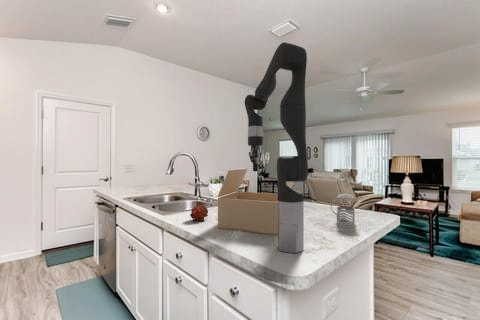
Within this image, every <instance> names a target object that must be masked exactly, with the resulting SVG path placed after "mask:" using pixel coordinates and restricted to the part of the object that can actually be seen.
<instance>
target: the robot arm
mask: <svg viewBox="0 0 480 320" xmlns="http://www.w3.org/2000/svg"><path fill="white" fill-rule="evenodd" d="M307 61H308V54H307V50H306V48H305V47H304V46H302V45H299V44H295V43H291V42H286V41H285V42H284V41H283V42H281V43H279V45H278V46H277V48H276V49H275V51H274V54H273V55H272V58H271V60H270V63H269V65H268V67H267V68H266V71H265V74H264V76H263V78H261V81H260V82H259V84H258V85H257V87H256V89H255V91H254V94H248V95H246V97H245V98H244V108H245V111H246V114H247V126H248V127H247V145H248V146H249V147H250V151H249V152H248V156H249V161H250V162H251V163H252V172H259V163H260V162H261V159H262V155H263V154H262V151H261V146H264V128H263V121H264V119H263V116H262V115H261V114H259V113H257V112H256V111H262V110H264V109H265V108H266V107H267V103H268V100H269V97H271V95H272V94H273V93H274V91H275V90H276V87H277V73H278V71H280V70H285V71H290V72H291V83H290V86H289V87H288V89H287V90H286V92H285V93H284V95H283V97H282V99H281V101H280V105H279V106H280V107H279V112H280V113H279V115H280V116H279V117H280V118H279V119H280V123H281V125H282V127H283V129H284V130H285V132H286V133H287V134H288V135H289V137H290V139H291V140H292V142H293V144H294V147H295V150H296V154H297V155H279V156H278V158H277V160H276V178H277V179H276V180H277V194H278V208H277V210H278V235H277V249H278V251H279V252H284V253H291V254H298V253H301V252H303V251H304V248H305V247H304V241H305V239H304V236H305V235H304V231H305V229H304V226H305V224H304V223H305V221H304V218H305V217H304V216H305V214H304V207H305V206H304V204H305V203H304V199H305V198H304V197H305V196H304V193H303V192H302V191H300V190H297V189H294V188H290V187H289V186H287V184H286V182H288V181H289V182H294V183H295V182H298V183H299V182H305V181H307V179H308V175H309V166H308V165H309V164H308V163H309V161H308V153H307V152H308V151H307V139H306V134H307V133H306V129H307V127H306V126H307V125H306V123H307V122H306V120H307V119H306V118H307V112H306V111H307V109H306V76H307V75H306V73H307V64H308V63H307Z"/></svg>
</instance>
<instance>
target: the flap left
mask: <svg viewBox="0 0 480 320" xmlns="http://www.w3.org/2000/svg"><path fill="white" fill-rule="evenodd" d="M248 169H249V168H248V167H243V168H241V167H240V168H233V169H232V168H231V169H228V170H227V173H226V175H225V178H224V181H223V183H222V185H221V187H220V190H219V192H218V194H217V198H220V197H223V196H226V195H229V194H232V193H236V192H239V189H240V187H241V185H242V183H243V180H244V178H245V175H246V173H247V171H248Z"/></svg>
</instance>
